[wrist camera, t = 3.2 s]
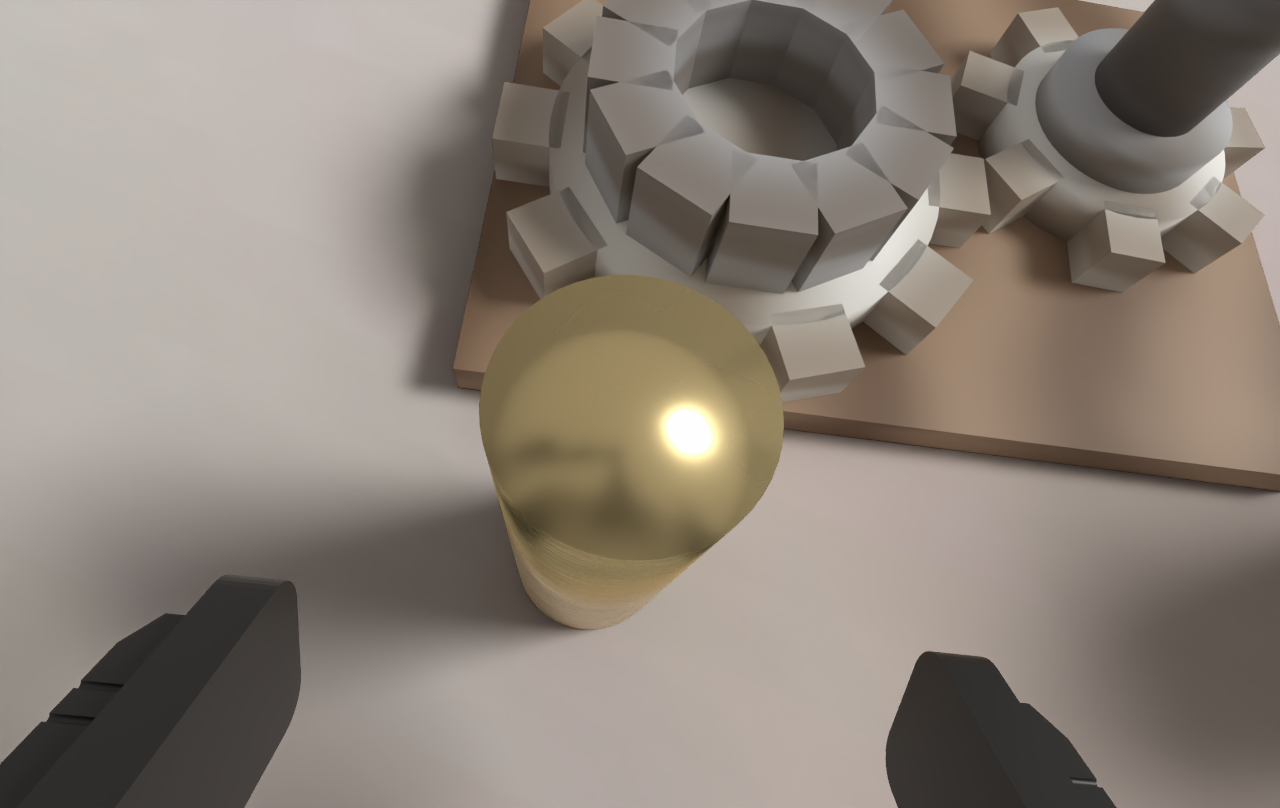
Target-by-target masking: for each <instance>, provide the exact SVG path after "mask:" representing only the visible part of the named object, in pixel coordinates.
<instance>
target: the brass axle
mask: <svg viewBox="0 0 1280 808" xmlns="http://www.w3.org/2000/svg"><path fill="white" fill-rule="evenodd" d="M479 416H480V429H481V435H482V441H483V446H484V449H485V453H486V456H487V460H488V464H489V467H490V471H491V474H492V478H493V481H494V485H495V489H496V492H497V496H498V499H499V503H500V507H501V510H502V514H503V517H504V521H505V525H506V528H507V532H508V535H509V539H510V543H511V546H512V550H513V553H514V557H515V561H516V564H517V568H518V571H519V575H520V578H521V581H522V584H523V586H524V589H525V591H526V593H527V594H528V596H529V597H530V599H531V600H532V602H533V603H534V604H535V605H536V606H537V608H538V609H539V610H541V611H542V612H543V613H544V614H545V615H546V616H548V617H550V618H551V619H553V620H554V621H556V622H558V623H560V624H563V625H566V626H569V627H572V628H577V629H589V630H592V629H602V628H606V627H610V626H613V625H615V624H618V623H620V622H622V621H624V620H626V619H627V618H629V617H630V616H632V615H633V614H634V613H636V612H637V611H638V610H639V609H640V608H642V607H643V606H644V605H645V604H646V603H647V602H648V601H650V600H651V599H652V598H653V597H654V596H655V595H657V594H658V593H659V592H660V591H661V590H662V589H663V588H665V587H666V586H667V585H668V584H669V583H670V582H672V581H673V580H674V579H675V578H676V577H677V576H678V575H680V574H681V573H682V572H683V571H684V570H685V569H687V568H688V567H689V566H690V565H691V564H692V563H694V562H695V561H696V560H697V559H698V558H699V557H700V556H702V555H703V554H704V553H705V552H706V551H707V550H709V549H710V548H711V547H712V546H713V545H714V544H715V543H717V542H718V541H719V540H720V539H721V538H722V537H724V536H725V535H726V534H727V533H728V532H729V531H730V530H732V529H733V528H734V527H735V526H736V525H737V524H738V523H739V522H740V521H741V520H742V519H743V518H744V517H745V516H746V515H747V514H748V513H749V512H750V511H751V510H752V509H753V508H754V506H755V505H756V504H757V502H758V501H759V500H760V498H761V497H762V496H763V494H764V492H765V490H766V489H767V487H768V485H769V483H770V481H771V480H772V477H773V475H774V472H775V469H776V467H777V464H778V461H779V457H780V452H781V448H782V443H783V431H784V416H783V404H782V399H781V394H780V389H779V386H778V383H777V380H776V377H775V374H774V371H773V369H772V367H771V365H770V363H769V361H768V359H767V357H766V355H765V353H764V352H763V350H762V348H761V347H760V345H759V344H758V342H757V341H756V339H755V338H754V337H753V336H752V335H751V333H750V332H749V331H748V330H747V329H746V327H745V326H744V325H743V324H742V323H741V322H740V321H739V320H738V319H737V318H736V317H734V316H733V315H732V314H731V313H730V312H729V311H727V310H726V309H725V308H723V307H722V306H721V305H719V304H718V303H717V302H715V301H714V300H712V299H710V298H708V297H707V296H705V295H703V294H702V293H700V292H698V291H695V290H693V289H691V288H689V287H686V286H684V285H681V284H678V283H675V282H672V281H668V280H665V279H660V278H655V277H650V276H641V275H608V276H601V277H595V278H590V279H586V280H583V281H579V282H575V283H573V284H570V285H568V286H565V287H563V288H560V289H558V290H556V291H554V292H552V293H551V294H549V295H547V296H545V297H543V298H542V299H540V300H539V301H538V302H536V303H535V304H534V305H532V306H531V307H529V308H528V309H527V310H526V311H525V312H524V313H523V314H522V315H521V316H520V317H518V318H517V319H516V320H515V321H514V322H513V324H512V325H511V326H510V327H509V329H508V330H507V331H506V332H505V334H504V335H503V336H502V338H501V340H500V341H499V343H498V345H497V346H496V348H495V350H494V351H493V354H492V356H491V358H490V361H489V363H488V365H487V368H486V371H485V375H484V379H483V382H482V386H481V394H480V403H479Z"/></svg>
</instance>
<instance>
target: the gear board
mask: <svg viewBox="0 0 1280 808" xmlns="http://www.w3.org/2000/svg"><path fill="white" fill-rule="evenodd" d="M1279 54H1280V0H1155V1H1154V2H1153V3H1152V4H1151V5H1150V7H1149V8H1148V9H1147V10H1146V11H1145V12H1140V11H1134V10H1129V9H1123V8H1118V7H1112V6H1107V5H1101V4H1095V3H1090V2H1084V1H1079V0H530V5H529V10H528V14H527V19H526V24H525V29H524V33H523V38H522V43H521V48H520V52H519V57H518V62H517V67H516V71H515V76H514V81H513V83H509V82H504V86H503V90H502V95H501V100H500V104H499V109H498V113H497V118H496V123H495V127H494V132H493V136H492V142H493V151H494V161H495V171H494V176H493V180H492V185H491V190H490V195H489V199H488V204H487V209H486V214H485V218H484V223H483V228H482V233H481V237H480V242H479V247H478V252H477V256H476V261H475V266H474V271H473V275H472V280H471V285H470V289H469V294H468V299H467V304H466V308H465V313H464V318H463V323H462V327H461V332H460V337H459V342H458V346H457V351H456V356H455V361H454V365H453V371H454V374H455V377H456V381H457V384H458V387H459V388H467V389H475V390H481V386H482V382H483V379H484V375H485V371H486V368H487V365H488V363H489V361H490V358H491V356H492V354H493V351H494V350H495V348H496V346H497V345H498V343H499V341H500V340H501V338H502V336H503V335H504V334H505V332H506V331H507V330H508V329H509V327H510V326H511V325H512V324H513V322H514V321H515V320H516V319H517V318H518V317H520V316H521V315H522V314H523V313H524V312H525V311H526V310H527V309H528V308H529V307H531V306H532V305H534V304H535V303H536V302H538V301H539V300H540V299H542V298H543V297H545V296H547V295H549V294H551V293H552V292H554V291H556V290H558V289H560V288H563V287H565V286H568V285H570V284H573V283H575V282H579V281H583V280H586V279H590V278H595V277H601V276H608V275H641V276H650V277H655V278H660V279H665V280H668V281H672V282H675V283H678V284H681V285H684V286H686V287H689V288H691V289H693V290H695V291H698V292H700V293H702V294H703V295H705V296H707V297H708V298H710V299H712V300H714V301H715V302H717V303H718V304H719V305H721V306H722V307H723V308H725V309H726V310H727V311H729V312H730V313H731V314H732V315H733V316H734V317H736V318H737V319H738V320H739V321H740V322H741V323H742V324H743V325H744V326H745V327H746V329H747V330H748V331H749V332H750V333H751V335H752V336H753V337H754V338H755V339H756V341H757V342H758V344H759V345H760V347H761V348H762V350H763V352H764V353H765V355H766V357H767V359H768V361H769V363H770V365H771V367H772V369H773V371H774V374H775V377H776V380H777V383H778V386H779V389H780V394H781V399H782V404H783V416H784V429H792V430H800V431H808V432H816V433H824V434H832V435H840V436H847V437H855V438H863V439H871V440H879V441H887V442H895V443H903V444H911V445H919V446H927V447H935V448H943V449H951V450H958V451H966V452H974V453H982V454H990V455H998V456H1006V457H1014V458H1022V459H1030V460H1038V461H1046V462H1054V463H1062V464H1070V465H1077V466H1085V467H1093V468H1101V469H1109V470H1117V471H1125V472H1133V473H1141V474H1149V475H1157V476H1165V477H1173V478H1181V479H1188V480H1196V481H1204V482H1212V483H1220V484H1228V485H1236V486H1244V487H1252V488H1260V489H1268V490H1276V491H1280V324H1279V321H1278V318H1277V314H1276V311H1275V308H1274V304H1273V301H1272V298H1271V294H1270V291H1269V288H1268V284H1267V281H1266V278H1265V274H1264V271H1263V268H1262V264H1261V261H1260V258H1259V254H1258V251H1257V248H1256V244H1255V241H1254V238H1253V234H1252V230H1253V229H1254V228H1255V226H1256V225H1257V224H1258V223H1259V222H1260V220H1261V219H1262V218H1263V217H1264V214H1263V213H1262V212H1260V211H1259V210H1258V209H1256V208H1255V207H1254V206H1252V205H1251V204H1250V203H1248V202H1247V201H1246V200H1245V199H1243V198H1242V197H1241V195H1240V191H1239V188H1238V185H1237V181H1236V178H1235V175H1234V171H1235V170H1236V169H1238V168H1239V167H1240V166H1242V165H1243V164H1244V163H1245V162H1247V161H1248V160H1249V159H1251V158H1252V157H1253V156H1255V155H1256V154H1257V153H1259V152H1260V151H1261V150H1263V149H1264V148H1265V146H1264V144H1263V143H1262V141H1261V139H1260V137H1259V135H1258V133H1257V131H1256V129H1255V127H1254V125H1253V123H1252V121H1251V119H1250V117H1249V116H1248V114H1247V112H1246V110H1245V108H1230V107H1229V104H1228V101H1227V99H1228V98H1229V97H1230V96H1231V95H1233V94H1234V93H1235V92H1236V91H1237V90H1238V89H1239V88H1241V87H1242V86H1243V85H1244V84H1245V83H1246V82H1248V81H1249V80H1250V79H1251V78H1252V77H1253V76H1254V75H1256V74H1257V73H1258V72H1259V71H1260V70H1261V69H1263V68H1264V67H1265V66H1266V65H1267V64H1268V63H1269V62H1271V61H1272V60H1273V59H1274V58H1275V57H1276V56H1278V55H1279Z"/></svg>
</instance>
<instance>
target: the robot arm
mask: <svg viewBox="0 0 1280 808" xmlns="http://www.w3.org/2000/svg"><path fill="white" fill-rule="evenodd" d="M300 682H301V668H300V649H299V630H298V611H297V595H296V590H295V587H294V585H293V583H292V582H290V581H283V580H273V579H264V578H255V577H245V576H236V575H225V576H222V577H220V578H219V579H218V580H217V581H216V582H215V583H214V584H213V585H212V586H211V587H210V588H209V589H208V590H207V592H206V593H205V594H204V595H203V596H202V597H201V598H200V600H199V601H198V602H197V603H196V604H195V605H194V606H193V607H192V609H191V610H190V611H189V612H188V613H187V614H186V615H177V614H167V613H166V614H164V615H162V616H161V617H159V618H157V619H156V620H154V621H152V622H151V623H149V624H147V625H146V626H144V627H143V628H141V629H139V630H138V631H136V632H134V633H133V634H131V635H129V636H128V637H126V638H124V639H123V640H121V641H119V642H118V643H117V644H116V645H115V646H114V647H113V648H112V649H111V650H110V651H109V652H108V653H107V654H106V655H105V656H104V657H103V658H102V659H101V660H100V661H99V662H98V663H97V664H96V665H95V666H94V667H93V669H92V670H91V671H90V672H89V673H88V674H87V675H86V676H85V677H84V678H83V679H82V680H81V684H80V686H79V688H78V689H77V688H73V689H72V690H71V691H70V692H69V693H68V694H67V696H66V697H65V698H64V699H63V700H62V701H61V702H60V703H59V704H58V705H57V706H56V707H55V708H54V709H53V710H52V711H51V712H50V716H49V718H48V720H47V721H46V722H41V723H40V724H39V725H38V726H37V727H36V728H35V729H34V730H33V731H32V732H31V733H30V734H29V735H28V736H27V737H26V738H25V739H24V740H23V741H22V742H21V743H20V744H19V745H18V746H17V747H16V748H15V750H14V751H13V752H12V753H11V754H10V755H9V756H8V757H7V758H6V759H5V760H4V761H3V762H2V763H1V764H0V808H244V807H245V805H246V803H247V801H248V800H249V798H250V796H251V794H252V792H253V790H254V789H255V787H256V785H257V783H258V781H259V780H260V778H261V776H262V774H263V772H264V771H265V769H266V767H267V765H268V763H269V762H270V760H271V758H272V756H273V754H274V752H275V751H276V749H277V747H278V745H279V743H280V742H281V740H282V738H283V736H284V734H285V733H286V731H287V729H288V727H289V724H290V722H291V719H292V717H293V714H294V711H295V708H296V704H297V700H298V696H299V690H300ZM886 768H887V775H888V780H889V784H890V787H891V790H892V793H893V796H894V798H895V801H896V803H897V806H898V808H1116V806H1115V805H1114V804H1113V802H1112V801H1111V799H1110V798H1109V797H1108V795H1107V794H1106V792H1105V791H1104V789H1103V788H1099V787H1097V784H1096V780H1097V779H1096V778H1095V777H1094V775H1093V774H1092V772H1091V771H1090V769H1089V768H1088V767H1087V765H1086V764H1085V762H1084V761H1083V759H1082V758H1081V757H1080V755H1079V754H1078V752H1077V751H1076V749H1075V748H1074V747H1073V745H1072V744H1071V742H1070V741H1069V740H1068V738H1066V737H1065V736H1064V735H1063V734H1062V733H1061V732H1060V731H1059V730H1058V729H1056V728H1055V727H1054V726H1053V725H1052V724H1051V723H1050V722H1049V721H1048V720H1046V719H1045V718H1044V717H1043V716H1042V715H1041V714H1040V713H1039V712H1038V711H1036V710H1035V709H1034V708H1033V707H1032V706H1031V705H1030V704H1027V703H1020V702H1019V701H1018V699H1017V698H1016V696H1015V695H1014V693H1013V692H1012V690H1011V689H1010V687H1009V686H1008V684H1007V683H1006V681H1005V680H1004V678H1003V677H1002V675H1001V674H1000V672H999V671H998V669H997V668H996V666H995V665H994V664H993V663H992V662H991V661H990V660H988V659H987V658H984V657H978V656H969V655H959V654H950V653H941V652H931V651H928V652H924V653H923V654H922V655H921V656H920V657H919V658H918V660H917V662H916V664H915V666H914V669H913V672H912V674H911V677H910V680H909V682H908V685H907V687H906V690H905V693H904V695H903V698H902V701H901V703H900V706H899V709H898V711H897V714H896V716H895V719H894V722H893V724H892V727H891V730H890V732H889V735H888V739H887V745H886Z"/></svg>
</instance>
